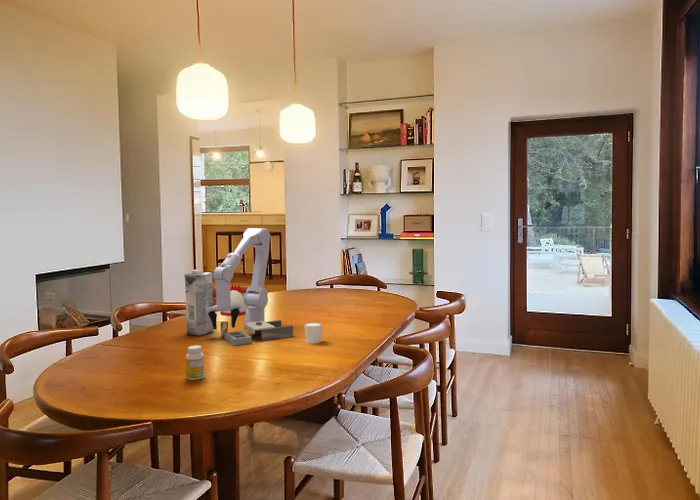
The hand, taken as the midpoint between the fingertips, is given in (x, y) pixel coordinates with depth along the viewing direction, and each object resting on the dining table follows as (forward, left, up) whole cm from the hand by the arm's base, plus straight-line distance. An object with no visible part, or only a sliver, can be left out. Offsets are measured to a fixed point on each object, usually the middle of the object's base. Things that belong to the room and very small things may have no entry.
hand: (224, 328), depth 215 cm
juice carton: (-11, -7, -4) cm, 13 cm away
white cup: (+28, +27, -4) cm, 39 cm away
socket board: (+11, +2, -3) cm, 12 cm away
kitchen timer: (-44, +19, -4) cm, 48 cm away
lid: (+9, +12, 0) cm, 15 cm away
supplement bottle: (+47, -24, -4) cm, 53 cm away
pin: (0, 0, -3) cm, 3 cm away
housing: (+9, +17, -3) cm, 20 cm away
